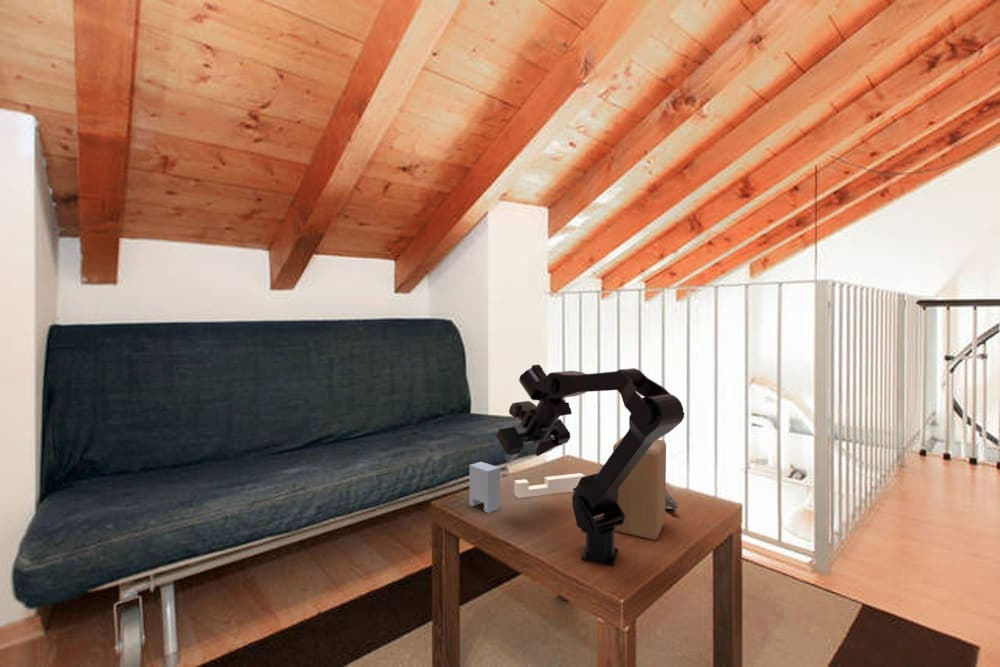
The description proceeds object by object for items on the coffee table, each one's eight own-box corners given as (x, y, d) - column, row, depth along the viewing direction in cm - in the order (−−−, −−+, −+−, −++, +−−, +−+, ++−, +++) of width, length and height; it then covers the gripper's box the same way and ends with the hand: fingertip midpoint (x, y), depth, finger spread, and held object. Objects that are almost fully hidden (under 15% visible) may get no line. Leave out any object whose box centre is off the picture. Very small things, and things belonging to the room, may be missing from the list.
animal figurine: (647, 504, 122) (646, 484, 123) (663, 504, 123) (662, 484, 123) (667, 515, 110) (665, 493, 111) (685, 514, 111) (683, 493, 112)
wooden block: (623, 515, 113) (623, 433, 112) (665, 524, 108) (667, 439, 107) (611, 531, 104) (611, 443, 103) (657, 542, 99) (658, 450, 98)
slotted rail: (584, 490, 129) (585, 475, 129) (517, 498, 123) (517, 483, 123) (580, 486, 131) (581, 473, 131) (514, 495, 125) (514, 480, 125)
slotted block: (499, 508, 116) (499, 467, 116) (487, 513, 113) (487, 471, 113) (480, 501, 121) (480, 461, 121) (469, 505, 118) (469, 465, 118)
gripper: (558, 387, 117) (535, 428, 125) (497, 393, 107) (476, 438, 115) (583, 419, 110) (557, 461, 118) (519, 430, 100) (496, 475, 108)
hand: (522, 457), depth 115 cm, fingers open, 9 cm apart
